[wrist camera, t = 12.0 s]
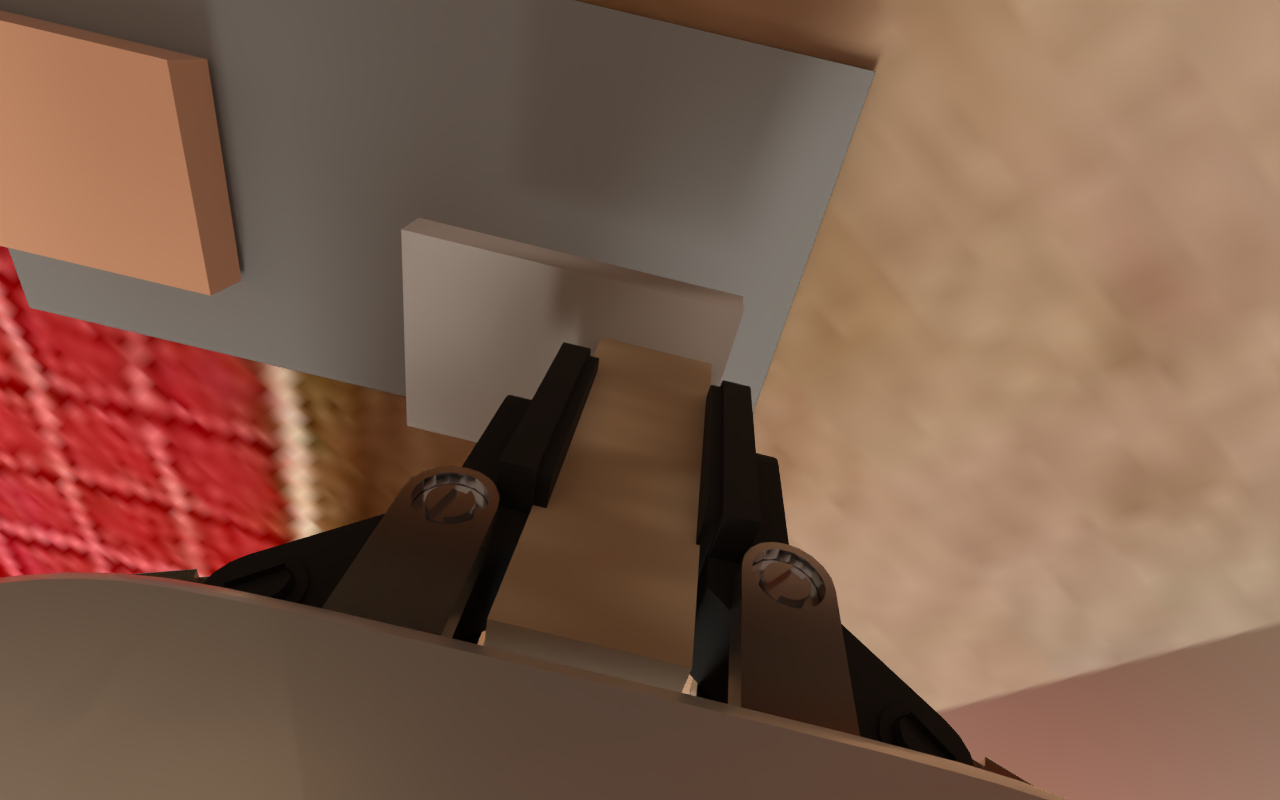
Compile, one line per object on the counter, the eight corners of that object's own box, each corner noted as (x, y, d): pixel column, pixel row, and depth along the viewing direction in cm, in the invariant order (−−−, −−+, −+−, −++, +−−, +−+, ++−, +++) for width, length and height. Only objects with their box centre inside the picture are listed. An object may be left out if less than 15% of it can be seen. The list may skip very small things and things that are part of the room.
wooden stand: (742, 296, 13) (752, 604, 6) (686, 471, 15) (650, 810, 9) (418, 217, 13) (82, 442, 6) (421, 407, 15) (192, 699, 9)
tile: (166, 59, 16) (-118, -8, 16) (210, 295, 20) (-23, 240, 20) (212, 58, 18) (-49, -3, 18) (245, 279, 21) (28, 227, 21)
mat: (872, 71, 16) (875, 71, 16) (730, 469, 23) (730, 473, 23) (-129, -167, 16) (-143, -171, 16) (37, 304, 23) (29, 307, 23)
